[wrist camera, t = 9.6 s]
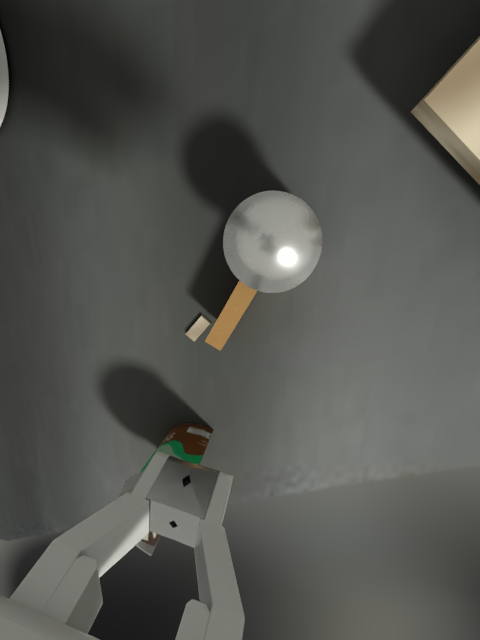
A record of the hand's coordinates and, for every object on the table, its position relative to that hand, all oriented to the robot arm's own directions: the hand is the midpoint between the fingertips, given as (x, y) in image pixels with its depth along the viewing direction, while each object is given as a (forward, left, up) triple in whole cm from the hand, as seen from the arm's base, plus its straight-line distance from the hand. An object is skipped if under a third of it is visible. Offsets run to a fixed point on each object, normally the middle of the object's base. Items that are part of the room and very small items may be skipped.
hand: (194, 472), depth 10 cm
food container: (+5, -22, -18) cm, 29 cm away
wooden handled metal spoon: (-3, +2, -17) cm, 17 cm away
